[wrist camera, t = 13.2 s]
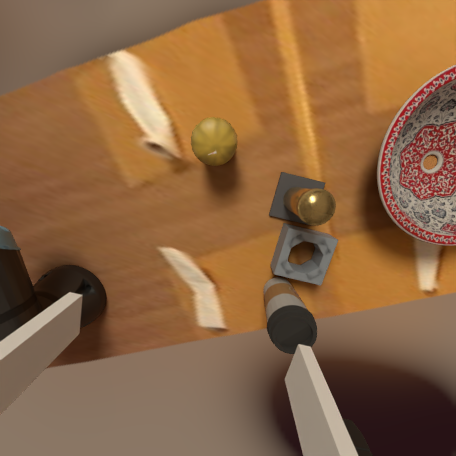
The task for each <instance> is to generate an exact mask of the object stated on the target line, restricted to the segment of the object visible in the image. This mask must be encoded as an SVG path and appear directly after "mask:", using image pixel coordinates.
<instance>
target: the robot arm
mask: <svg viewBox="0 0 456 456" xmlns="http://www.w3.org/2000/svg"><path fill="white" fill-rule="evenodd" d="M20 250H21V249H20V248H19V247H18V246H17V244H16V242H15V240H14V238H13V235H12V233H11V232H10V230H8V229H7V228H5V227H3V226H0V415H1V414H2V413H3V411H5V410H6V409H7V408H8V407H9V406H10V405H11V404H12V402H13V401H15V399H16V398H17V397H18V396H19V395H20V394H21V393H22V392H23V391H24V390H25V389H26V388H27V387H28V386H29V385H30V384H31V383H32V382H33V381H34V380H35V379H36V378H37V377H38V376H39V375H40V374H41V373H42V372H43V371H44V370H45V369H46V368H47V367H48V366H49V365H50V364H51V362H52V361H53V360H54V359H55V358H56V357H57V356H58V355H59V354H60V353H61V352H62V351H63V350H64V349H65V348H66V347H67V346H68V345H69V344H70V343H71V342H72V341H73V340H74V339H75V338H76V337H77V336H78V335H79V332H80V328H81V327H84V326H86V325H88V324H90V323H91V322H93V321H94V320H95V319H96V318H97V317H98V316H99V315H100V314H101V312H102V311H103V309H104V307H105V304H106V294H105V290H104V288H103V286H102V284H101V282H100V281H99V280H98V278H97V277H96V276H95V275H94V274H92V273H91V272H89V271H88V270H86V269H84V268H82V267H79V266H74V265H63V266H59V267H57V268H55V269H53V270H51V271H49V272H47V273H46V274H44V275H43V276H42V277H41V278H40V279H39V280H38V282H37V283H36V284H35V285H34V286H33V285H32V282H31V280H30V277H29V274H28V272H27V269H26V266H25V264H24V261H23V258H22V256H21V253H20ZM285 382H286V386H287V390H288V394H289V399H290V402H291V407H292V411H293V415H294V419H295V423H296V428H297V431H298V436H299V440H300V444H301V448H302V452H303V456H373V455H372V453H371V452H370V449H369V447H368V445H367V443H366V441H365V439H364V437H363V435H362V433H361V432H360V431H359V429H358V428H357V427H356V425H355V424H354V423H353V421H351V420H347V419H343V418H342V417H341V415H340V413H339V411H338V408H337V406H336V404H335V401H334V399H333V397H332V395H331V392H330V390H329V388H328V385H327V383H326V381H325V379H324V376H323V374H322V372H321V370H320V367H319V365H318V363H317V360H316V358H315V356H314V354H313V351H312V349H311V347H310V346H305V345H301V344H298V346H297V349H296V351H295V354H294V357H293V359H292V362H291V364H290V367H289V370H288V372H287V375H286V378H285Z"/></svg>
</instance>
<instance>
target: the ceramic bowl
mask: <svg viewBox="0 0 456 456" xmlns="http://www.w3.org/2000/svg"><path fill="white" fill-rule="evenodd" d="M431 154H433V155H435V156H436V157H437V158H438V163H437V165H436V166H435V167H434V168H433V169H431V170H426V169H425V168H424V167H423V161H424V159H425V157H426V156H428V155H431ZM377 184H378V191H379V195H380V198H381V201H382V204H383V206H384V208H385V210H386V212H387V213H388V215H389V216H390V218H391V219H392V220H393V221H394V223H395V224H396V225H397V226H398V227H399V228H401V229H402V230H403V231H405V232H406V233H407V234H409V235H411V236H412V237H414V238H417V239H419V240H421V241H424V242H427V243H432V244H438V245H456V65H454V66H452V67H450V68H448V69H446V70H444V71H442V72H441V73H439V74H437V75H436V76H434V77H433V78H431V79H430V80H429V81H427V82H426V83H425V84H424V85H422V86H421V87H420V88H419V89H418V90H417V91H416V92H415V93H414V94H413V95H412V96H411V97H410V98H409V99H408V100H407V101H406V102H405V104H404V105H403V106H402V107H401V109H400V110H399V111H398V113H397V114H396V116H395V117H394V119H393V121H392V123H391V124H390V126H389V128H388V130H387V132H386V135H385V137H384V140H383V142H382V145H381V149H380V153H379V158H378V164H377Z"/></svg>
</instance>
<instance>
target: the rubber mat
mask: <svg viewBox="0 0 456 456" xmlns="http://www.w3.org/2000/svg"><path fill="white" fill-rule="evenodd" d="M324 185H325V183H324V182H320V181H316V180H312V179H308V178H304V177H300V176H296V175H292V174H288V173H284V172H281V175H280V179H279V182H278V186H277V189H276V192H275V196H274V199H273V203H272V206H271V210H270V213H269V215H270V216H274V217H278V218H283V219H287V220H291V221H295V222H299V223H303V224H307V223H305V222H304V221H302V220H301V219H300V218H299V216H298V215H296V214H295V213H293V212H292V211H290V210H288V209H287V208H286V207H285V205H284V202H283V198H284V195H285V193H286V191H287V190H289V189H290V188H292V187H301V188H307V189H315V188H319V189H323V188H324ZM307 225H309V224H307Z"/></svg>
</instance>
